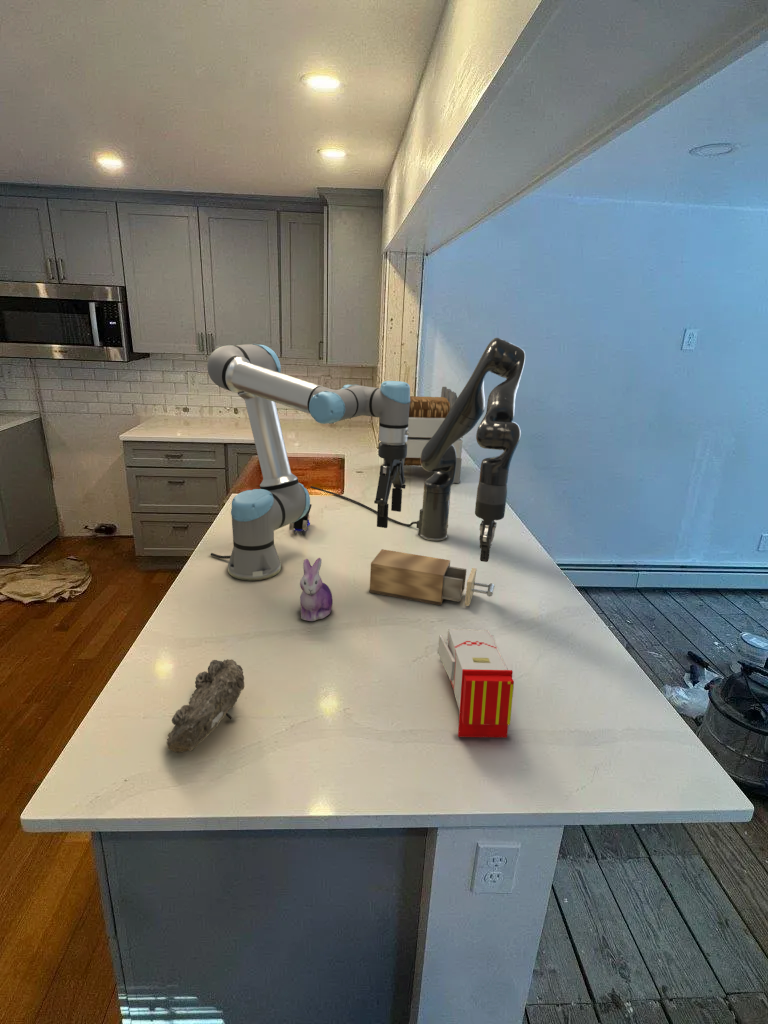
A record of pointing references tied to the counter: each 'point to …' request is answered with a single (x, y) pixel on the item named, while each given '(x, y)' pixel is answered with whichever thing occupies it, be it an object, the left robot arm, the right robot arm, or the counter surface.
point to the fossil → (206, 705)
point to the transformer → (429, 426)
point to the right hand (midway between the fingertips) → (484, 560)
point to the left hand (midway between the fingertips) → (389, 518)
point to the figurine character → (301, 523)
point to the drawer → (462, 585)
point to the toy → (478, 682)
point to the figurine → (314, 593)
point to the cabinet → (408, 576)
